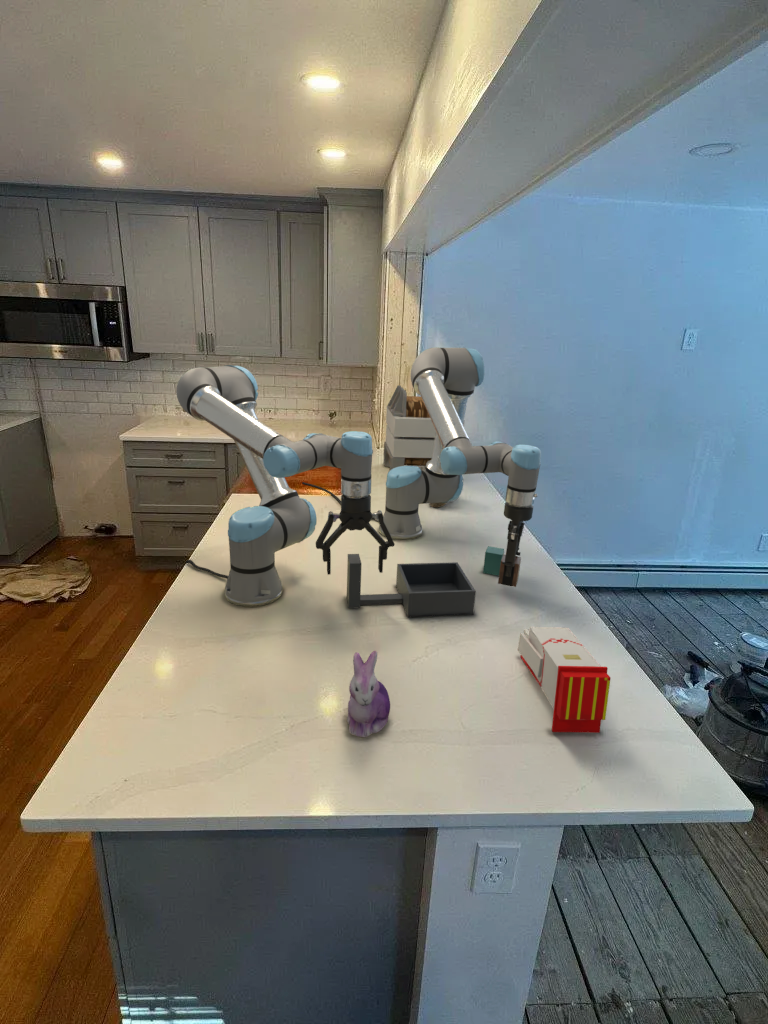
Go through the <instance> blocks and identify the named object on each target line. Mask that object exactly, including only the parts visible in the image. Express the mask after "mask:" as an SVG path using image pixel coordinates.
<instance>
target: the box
mask: <svg viewBox="0 0 768 1024" xmlns="http://www.w3.org/2000/svg"><path fill="white" fill-rule="evenodd" d="M346 569H347V570H346V601H347V607H348V609H361V606H372V605H373V606H375V605H376V606H377V605H400V604H401V605H402V606H403V608H404V611H405V614H406V617H407V618H426V617H427V618H428V617H430V618H431V617H452V616H473V615H474V613H475V611H474V610H475V602H476V594H477V592H476V589H475V587H474V586H473V584H472V583H471V581H470V580H469V578H468V576H467V575H466V573H465V572H464V570H463V569H462V566H461V565H460V564H459V563H458V562H456V561H455V562H454V561H453V562H452V561H451V562H421V563H419V562H418V563H397V564H396V580H395V587H396V589H397V591H398V593H376V594H374V593H373V594H361V590H362V560H361V556H360V554H359V553H347V567H346Z"/></svg>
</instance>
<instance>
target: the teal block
mask: <svg viewBox="0 0 768 1024" xmlns="http://www.w3.org/2000/svg"><path fill="white" fill-rule="evenodd" d="M503 554H505V548H501V547H498V546H497V547H495V546H491V545H488V546H487V548H486V549H485V552H484V560H483V568H482V569H483V570H482V573H483V574H487V575H492V576H498V577H499V572H500V564H501V560H502V557H503Z"/></svg>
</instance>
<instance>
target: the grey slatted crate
mask: <svg viewBox="0 0 768 1024" xmlns="http://www.w3.org/2000/svg"><path fill="white" fill-rule="evenodd" d="M407 394H408V393H407V390H406V389H404V388H403V387H402V385H399V384H398V385H397V386H396V388H395V390H394V392H393V394H392V395H391V398H390V400H389V402H388V404H387V405H386V413H385V414H386V415H385V423H386V428H385V438H384V442H383V466H384V467H388V468H389V471H390V470H392V469H393V468H396V467H400V466H416V467H426V463H427V462H428V461H430V460H431V458H432V452H433V446H434V439H435V433H436V430H435V428H434V425H433V423H432V421H431V419H430V416H429V414H428V412H427V409H426V407H425V405H424V402H423V400H422V398H421V396H415V395H414V396H413V395H412V396H411V395H407ZM463 427H464V428H465V419H464V422H463Z"/></svg>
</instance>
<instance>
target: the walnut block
mask: <svg viewBox="0 0 768 1024" xmlns="http://www.w3.org/2000/svg"><path fill="white" fill-rule="evenodd" d="M505 556H506V553H504V554H503V557H502V560H501V564H500V572H499V576H498V580H497V584H498V585H502V580H503V573H504V566H505V565H504V564H502V562H505ZM521 562H522V557H521V556H518V557H515V568H514V575H513V582H512V587H513V588H516V587H517V584H518V581H519V576H520V569H521Z"/></svg>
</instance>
